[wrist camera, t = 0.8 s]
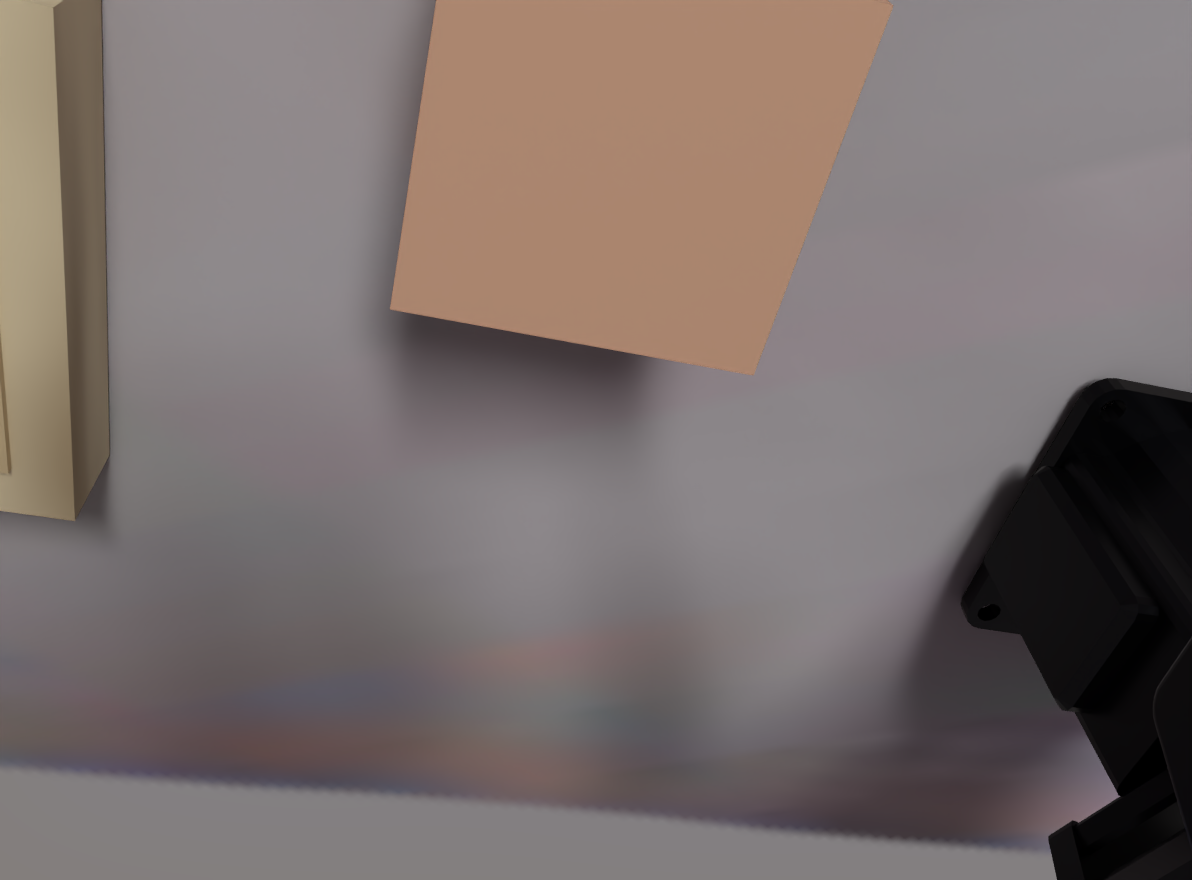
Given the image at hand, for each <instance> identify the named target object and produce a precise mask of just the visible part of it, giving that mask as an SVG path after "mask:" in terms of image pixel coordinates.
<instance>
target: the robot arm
mask: <svg viewBox="0 0 1192 880" xmlns="http://www.w3.org/2000/svg"><path fill="white" fill-rule="evenodd" d="M1112 400H1116V401H1115V402H1114V403H1113V404H1112V406H1111V407H1109V408H1107V409H1105V410H1100V409H1101V408H1102V407H1103V406H1104V405H1105V403H1107V402H1110V401H1112ZM988 604H990V605H989V606H987V607H984V606H986V605H988ZM961 607H962V610H963V612H964V614H965V617H966V619H967V621H968V622H969V623H970V624H971V625H972V626H974V627H977V628H981V629H988V630H995V631H1002V632H1009V633H1016V634H1021V636H1022V637H1023V639H1024V641H1025V643H1026V645H1027V647H1028V649H1029V651H1030V653H1031V655H1032V657H1033V659H1034V661H1035V662H1036V664H1037V666H1038V668H1039V670H1040V672H1041V674H1042V676H1043V678H1044V680H1045V682H1046V684H1047V686H1048V688H1049V689H1050V691H1051V693H1052V695H1053V697H1054V699H1055V701H1056V703H1057V705H1058V706H1059V707H1060V708H1061V709H1062V710H1065V711H1072V712H1075V714H1076V716H1077V718H1078V719H1079V721H1080V723H1081V725H1082V727H1083V729H1084V731H1085V733H1086V735H1087V736H1088V738H1089V740H1090V742H1091V744H1092V746H1093V748H1094V750H1095V751H1096V753H1097V755H1098V757H1099V759H1100V761H1101V763H1102V765H1103V766H1104V768H1105V770H1106V772H1107V774H1108V776H1109V778H1110V780H1111V781H1112V783H1113V785H1114V787H1115V789H1116V791H1117V793H1118V795H1119V796H1120V797H1119V798H1117V799H1115V800H1114V801H1112V802H1111V803H1109V804H1108V805H1106V806H1104V807H1103V808H1101V809H1100V810H1098V811H1097V812H1095V813H1094V814H1092V815H1090V816H1089V817H1087V818H1086V819H1084V820H1083V821H1081V822H1079V823H1078V822H1076V821H1071V822H1069V823H1068V824H1066V825H1065V826H1063V827H1062V828H1060V829H1059V830H1057V831H1055V832H1054V833H1052V834H1051V835H1049V836H1048V840H1049V845H1050V849H1051V854H1052V858H1053V863H1054V867H1055V872H1056V877H1057V880H1192V393H1190V392H1184V391H1179V390H1174V389H1169V388H1164V387H1158V386H1153V385H1148V384H1143V383H1138V382H1132V381H1127V380H1122V379H1117V378H1106V379H1103V380H1100V381H1097V382H1095V383H1093V384H1092V385H1090V386H1089V387H1087V389H1086V390H1085V391H1084V392H1083V393H1082V395H1081V396H1080V398H1079V399H1078V401H1077V403H1076V405H1075V406H1074V408H1073V410H1072V411H1071V413H1070V415H1069V416H1068V418H1067V420H1066V422H1065V423H1064V425H1063V427H1062V428H1061V430H1060V432H1059V434H1058V435H1057V437H1056V439H1055V440H1054V442H1053V444H1052V445H1051V447H1050V449H1049V451H1048V452H1047V454H1046V456H1045V457H1044V459H1043V461H1042V463H1041V464H1040V466H1039V468H1038V469H1037V471H1036V473H1035V474H1034V475H1033V476H1032V478H1031V479H1030V481H1029V483H1028V485H1027V486H1026V488H1025V490H1024V491H1023V493H1022V495H1021V497H1020V498H1019V500H1018V502H1017V503H1016V505H1015V507H1014V508H1013V510H1012V512H1011V514H1010V515H1009V517H1008V519H1007V520H1006V522H1005V524H1004V526H1003V527H1002V529H1001V531H1000V532H999V534H998V536H997V538H996V539H995V541H994V543H993V544H992V546H991V548H990V549H989V551H988V553H987V555H986V556H985V558H984V561H983V563H982V565H981V567H980V568H979V570H978V572H977V573H976V575H975V577H974V578H973V580H972V582H971V584H970V585H969V587H968V589H967V590H966V592H965V594H964V595H963V597H962V600H961ZM982 607H984V608H982Z"/></svg>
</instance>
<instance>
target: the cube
mask: <svg viewBox="0 0 1192 880" xmlns="http://www.w3.org/2000/svg"><path fill="white" fill-rule="evenodd" d="M892 8H893V5H892V4H891V3H890V2H889V1H888V0H436V5H435V12H434V18H433V25H432V32H431V38H430V45H429V52H428V59H427V65H426V72H425V79H424V85H423V92H422V99H421V105H420V112H419V119H418V125H417V132H416V139H415V145H414V152H413V159H412V165H411V172H410V179H409V185H408V192H407V199H406V206H405V212H404V219H403V226H402V232H401V239H400V246H399V252H398V259H397V266H396V272H395V279H394V286H393V292H392V299H391V306H390V310H396V311H401V312H407V313H412V314H418V315H423V316H429V317H434V318H440V319H445V320H451V321H456V322H462V323H467V324H473V325H478V326H484V327H489V328H495V329H500V330H506V331H511V332H517V333H522V334H528V335H533V336H539V337H544V338H550V339H555V340H561V341H566V342H572V343H578V344H583V345H589V346H594V347H600V348H605V349H611V350H616V351H622V352H627V353H633V354H638V355H644V356H649V357H655V358H660V359H666V360H671V361H677V362H682V363H688V364H693V365H699V366H704V367H710V368H715V369H721V370H726V371H732V372H737V373H743V374H748V375H754V373H755V370H756V367H757V365H758V362H759V359H760V357H761V354H762V352H763V349H764V346H765V344H766V341H767V338H768V336H769V333H770V330H771V328H772V325H773V322H774V320H775V317H776V315H777V312H778V309H779V307H780V304H781V301H782V299H783V296H784V293H785V291H786V288H787V286H788V283H789V280H790V278H791V275H792V272H793V270H794V267H795V264H796V262H797V259H798V256H799V254H800V251H801V249H802V246H803V243H804V241H805V238H806V235H807V233H808V230H809V227H810V225H811V222H812V219H813V217H814V214H815V212H816V209H817V206H818V204H819V201H820V198H821V196H822V193H823V190H824V188H825V185H826V183H827V180H828V177H829V175H830V172H831V169H832V167H833V164H834V161H835V159H836V156H837V153H838V151H839V148H840V146H841V143H842V140H843V138H844V135H845V132H846V130H847V127H848V124H849V122H850V119H851V116H852V114H853V111H854V109H855V106H856V103H857V101H858V98H859V95H860V93H861V90H862V87H863V85H864V82H865V80H866V77H867V74H868V72H869V69H870V66H871V64H872V61H873V58H874V56H875V53H876V50H877V48H878V45H879V43H880V40H881V37H882V35H883V32H884V29H885V27H886V24H887V21H888V19H889V16H890V13H891V11H892Z"/></svg>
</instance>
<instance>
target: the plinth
mask: <svg viewBox="0 0 1192 880" xmlns="http://www.w3.org/2000/svg"><path fill="white" fill-rule="evenodd" d="M109 455H110V453H109V398H108V343H107V288H106V233H105V178H104V124H103V69H102V14H101V0H0V511H5V512H13V513H20V514H27V515H34V516H42V517H49V518H56V519H63V520H71V521H75V520H76V518H77V516H78V514H79V512H80V510H81V509H82V507H83V505H84V503H85V501H86V499H87V497H88V495H89V493H90V491H91V489H92V488H93V486H94V484H95V482H96V480H97V478H98V476H99V474H100V472H101V470H102V469H103V467H104V465H105V463H106V461H107V459H108V457H109Z"/></svg>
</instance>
